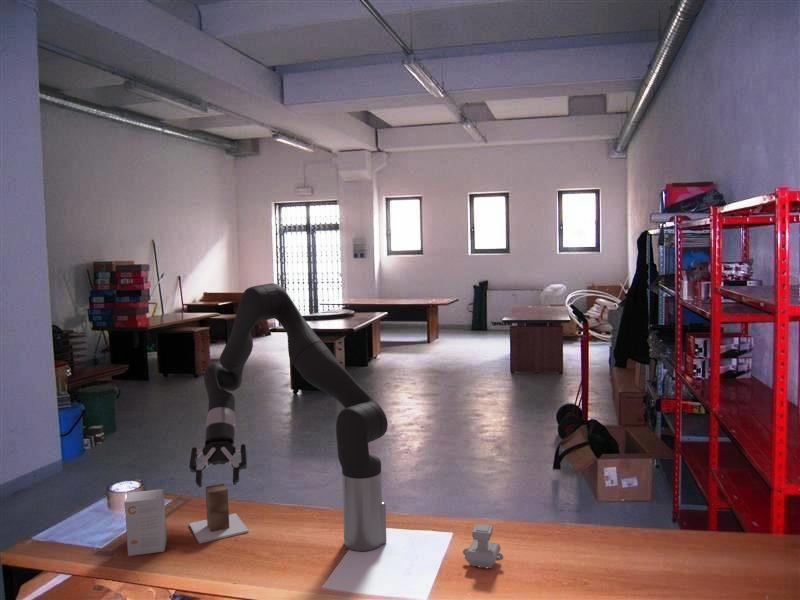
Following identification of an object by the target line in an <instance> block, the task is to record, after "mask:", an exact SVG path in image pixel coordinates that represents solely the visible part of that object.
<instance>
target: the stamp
mask: <svg viewBox="0 0 800 600" xmlns="http://www.w3.org/2000/svg"><path fill="white" fill-rule="evenodd" d="M493 526H494V525H492V524H482V523H479V524H478V523H475V524H474V526H473V529H472V532H471V533H472V534H471V537H472V539H473V540H472V541H471V543H470V545H469V547H468V548H467V547H466V548H464V549H463V550H462V554H463V556H464V559H465V561H466V562H467V563H468V564H469V565H470V566H471V565H472V566H471V567H475V566H480V567H479V568H482V567H488V568H491V569H492V567H493V566H494V565H495V563H496V562H497V561H502V560H504V555H503V554H502V553H501V552H500V551H501V546H500V543H496V542H489V541H490V540H491V537H492V535H493V531H494V527H493ZM488 568H487V569H488Z"/></svg>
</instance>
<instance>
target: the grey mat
mask: <svg viewBox="0 0 800 600" xmlns="http://www.w3.org/2000/svg"><path fill="white" fill-rule="evenodd" d="M188 526H189V528H190V527H191V528H190V529H192V530H191V531H193V532H192V534H193V535H194V537H195V539H196V541H197V542H198V544H199V545H200V544H204V543H207V542H208V543H209V542H212V541H216V540H220V539H225V538H226V539H227V538H230V537H234V536H237V535H242V534H246V533H249V529H248V527H247V526H246V525H245V523H244V522H243V520H241V518H240V517H239V516H238V514H237V513H236V512H235V513H232V514H231V513H229V528H227V529H223V530H218V531H214V532H211V531H210V529H209V527H208V525H207V519H203V520H198V521H193V522H189V523H188Z"/></svg>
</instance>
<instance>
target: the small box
mask: <svg viewBox="0 0 800 600" xmlns="http://www.w3.org/2000/svg"><path fill="white" fill-rule="evenodd" d="M165 504H166V503H165V490H164V488H159V489H151V490H143V491H133V492H128V494H127V496H126V498H125V501H124V516H125V528H126V529H125V530H126V533H125V534H126V543H127V544H126V545H127V556H128V557H131V556H132V557H133V556H140V555H141V556H142V555H148V554H154V553H162V552H165V549H166V546H167V545H166V544H167V540H168V539H167V522H166V521H167V520H166V519H167V518H166V505H165Z"/></svg>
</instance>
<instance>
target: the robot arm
mask: <svg viewBox="0 0 800 600" xmlns="http://www.w3.org/2000/svg"><path fill="white" fill-rule="evenodd" d="M273 319H275V320H276V321H277V322H278V323H279V324H280V325H281V327H282V328H283V329H284V330H285V333H286V335H287V349H288V350H287V351H288V357H289V360H290V362H291V364H292V365H293V367H294V368H295V369H296V371H297V372H298V373H299V374H300V375H301V377H302V378H303V379H304V380H305V381H306V382H307V383H309V384H310V385H311V386H312V387H315V388H316V389H318V390H319V391H321V392H323V393H325V394H327V395H329V396H330V397H333V398H334V399H335V400H336V401H338V403H340V404H341V405H342V406H343V407H344V408H343V409H342V410H340V412H339V413H338V414H337V418H336V422H335V423H336V424H335V432H336V445H337V447H336V448H337V457H338V460H339V461H338V462H339V464H340V466H341V472H342V473H341V476H342V477H341V478H342V479H341V480H342V506H343V507H342V509H343V511H342V513H343V519H342V520H343V542H344V546H345V548H347V549H349V550H352V551H357V552H359V551H360V552H365V551H372V550H375V549H377V548H380V547H381V546H382V545H383V544H386V543H387V512H386V511H387V509H386V503H385V502H384V501H383V490H382V487H383V485H382V484H383V483H382V461H381V459H380V458H379V457H377V456H376V455H372V454H370V451H369V443H370V442H374V441H376V440H379V439H380V438H382V437H383V436H385V434H386V432H387V430H388V425H389V424H388V423H389V422H388V419H387V415H386V413H385V411H384V410H383V409H382V407H381V405H379V403H378V402H377V401H376V400H375V399H374V398H373V397H372V396H371V395H370V394H369V393H368V392H367V391H366V390H365V389H363V387H361V385H359V384H358V382H357V381H356V380H355V379H354V378H353V377H352V376H351V374H349V372H348V371H347V369H345V367H343V365H342V364H341V363H340V361H338V359H337V358H336V356H335V355H334V354H333V353H332V352H331V350H330V349H329V348H328V346H327V345H326V343H324V342H323V340H322V339H320V337H319V336H318V335H317V334H316V332H315V331H314V330H313V328H312V327H311V326H310V324H308V321H307V320H306V319H305V318H304V317H303V315H302V314H301V312H300V310H299V309H298V308H297V306H296V305H295V303H294V302H293V300H292V298H291V297H290V295H289V294H288V292H287V291H286V290H285V289H284V287H282V286H281V285H279V284H278V283H273V282H271V283H265V284H258V285H255V286H254V285H253V286H250V287H248V288H246V289H245V290H244V291H243V293H242V295H241V297H240V300H239V303H238V306H237V310H236V314H235V318H234V320H233V321H234V322H233V326H232V330H231V333H230V336H229V337H228V340H227V343H226V344H225V346H224V348H223V350H222V352H221V354H220V357H219V363H217V362H212V363H210V364H209V365H207V367H205V369H204V373H203V380H204V386H205V390H206V393H207V397H208V410H207V417H206V425H205V437H204V439H205V440H204V447H203V448H197V447H196V446H195V447H192V448H191V454H190V459H189V464H188V465H189V467H188V468H189V471H190V472H191V473H195V483H196V486H197V487H198V488H202V487H203V479H204V478H203V477H204V471H205V470H207V469H208V468H209V467H210V465H213V466H216V465H226V464H227V463H228V465H229V466H230V467H231V468H232V485H233V486H236V485H237V483H240V471H241V470H246V469H247V468H248V459H247V446H246V444H244V443H242V444H241V445H240V446H235V438H236V437H235V434H236V433H235V431H236V417H235V416H236V415H235V410H236V409H235V407H236V399H235V396H234V395H233V394H232V392H233V391H237V390H238V389H239V388H240V387H241V386H242V382H243V371H244V368H245V365H246V363H247V361H248V359H249V357H250V355H251V354H252V351H253V348H254V340H253V336H252V330H253V328H254V327H255V326H256V324H258V323H259V322H264V321H269V320H273ZM236 452H237V453H238V455H240V458H241V459H240V462H238V461H237V460H236V459H235V457H234V455H235V454H236ZM201 455H203V456H204V457H203V458H202V459H201V462H200V463H199V464H198V465H197V461H198V458H200V457H201Z"/></svg>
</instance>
